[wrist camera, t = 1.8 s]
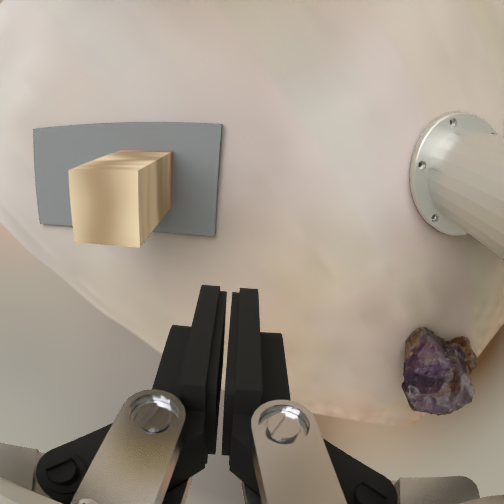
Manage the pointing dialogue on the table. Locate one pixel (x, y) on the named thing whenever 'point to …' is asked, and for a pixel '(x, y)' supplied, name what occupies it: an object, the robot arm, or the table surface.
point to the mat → (140, 139)
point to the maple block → (120, 197)
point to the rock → (438, 372)
